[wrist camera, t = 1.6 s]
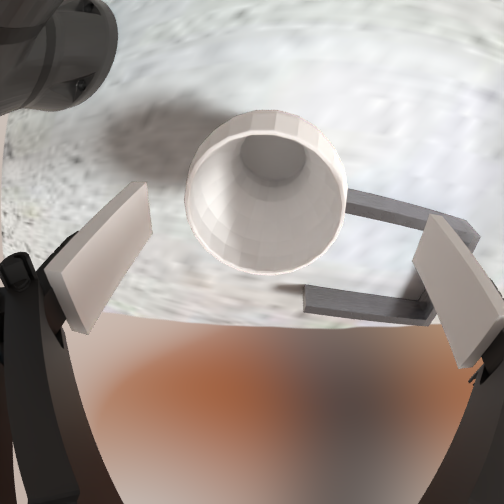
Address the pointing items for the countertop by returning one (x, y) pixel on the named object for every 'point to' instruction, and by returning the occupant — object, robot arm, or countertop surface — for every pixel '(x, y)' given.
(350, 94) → the countertop surface
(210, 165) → the cup
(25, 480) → the robot arm
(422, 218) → the channel
